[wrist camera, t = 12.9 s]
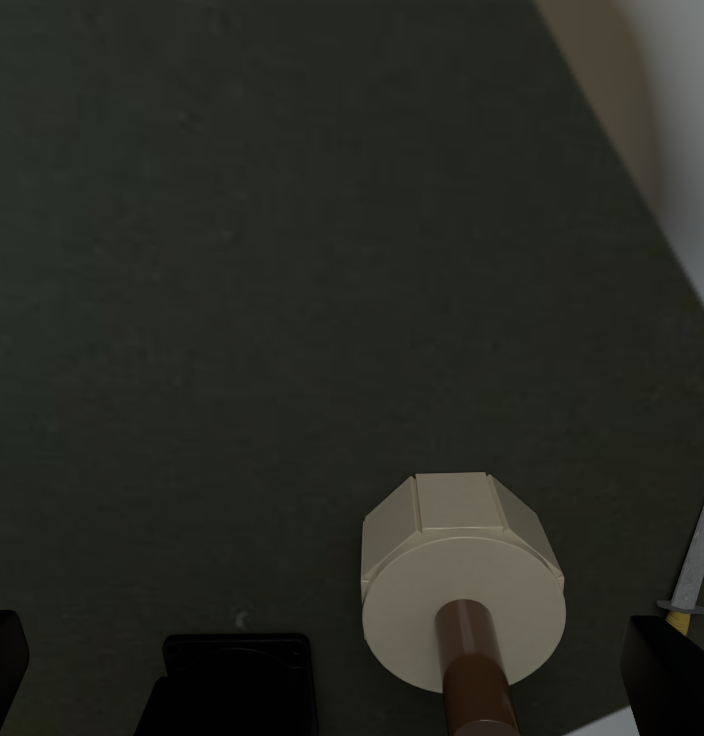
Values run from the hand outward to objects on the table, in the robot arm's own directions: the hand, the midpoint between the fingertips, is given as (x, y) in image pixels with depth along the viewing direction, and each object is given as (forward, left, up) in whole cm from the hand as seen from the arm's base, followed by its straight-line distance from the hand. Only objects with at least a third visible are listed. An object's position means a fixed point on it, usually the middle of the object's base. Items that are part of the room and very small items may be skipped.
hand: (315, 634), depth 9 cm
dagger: (-14, +11, -13) cm, 22 cm away
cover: (-3, +9, -13) cm, 16 cm away
